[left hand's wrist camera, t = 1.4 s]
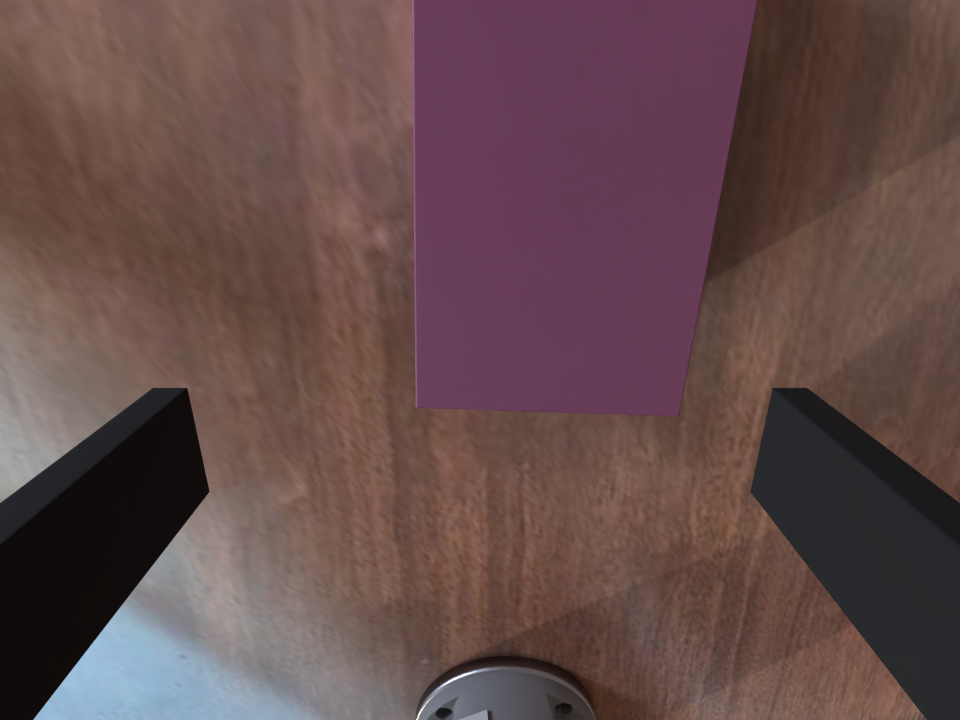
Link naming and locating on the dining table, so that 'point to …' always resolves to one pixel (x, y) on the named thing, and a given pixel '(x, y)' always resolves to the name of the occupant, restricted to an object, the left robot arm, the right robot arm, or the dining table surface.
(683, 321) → the cabinet
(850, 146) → the dining table surface
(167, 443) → the left robot arm
